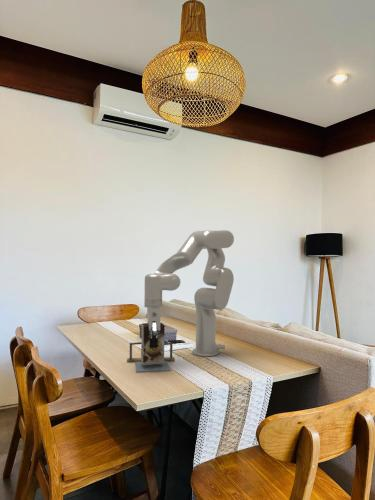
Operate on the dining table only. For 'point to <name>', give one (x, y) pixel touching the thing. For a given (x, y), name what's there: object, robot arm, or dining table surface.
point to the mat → (152, 367)
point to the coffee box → (149, 353)
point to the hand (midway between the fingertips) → (153, 344)
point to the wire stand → (132, 360)
